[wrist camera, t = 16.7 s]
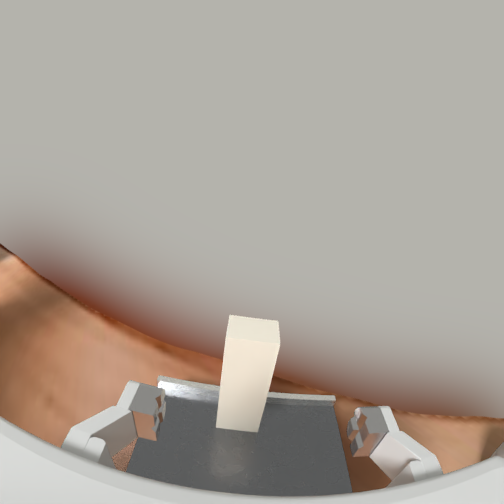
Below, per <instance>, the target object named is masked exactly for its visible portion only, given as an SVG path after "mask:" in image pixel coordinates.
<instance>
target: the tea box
mask: <svg viewBox="0 0 504 504" xmlns="http://www.w3.org/2000/svg"><path fill="white" fill-rule="evenodd" d="M279 347H280V335H279V324H278V321H273V320H265V319H257V318H249V317H242V316H235V315H230V316H229V322H228V328H227V334H226V340H225V349H224V358H223V366H222V375H221V384H220V393H219V402H218V411H217V421H216V428H223V429H231V430H239V431H249V432H258V429H259V425H260V422H261V418H262V414H263V411H264V407H265V403H266V399H267V395H268V392H269V388H270V384H271V380H272V376H273V371H274V368H275V364H276V360H277V355H278V351H279Z"/></svg>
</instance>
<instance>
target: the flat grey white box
mask: <svg viewBox="0 0 504 504" xmlns="http://www.w3.org/2000/svg"><path fill="white" fill-rule="evenodd" d="M157 387H159V388H163V389H165V397H164V400H165V401H166V410H165V416H164V419H163V422H161V423H160V432H159V436H158V439H157V441H154V440H150V439H145V438H141V437H138V439H137V442H136V445H135V448H134V450H133V453H132V456H131V459H130V462H129V464H128V467H127V470H126V472H127V473H130V474H133V475H137V476H141V477H144V478H148V479H152V480H156V481H160V482H165V483H169V484H174V485H179V486H184V487H190V488H196V489H202V490H208V491H216V492H224V493H233V494H244V495H259V496H321V495H335V494H346V493H353V492H352V487H351V482H350V478H349V473H348V468H347V464H346V459H345V454H344V450H343V446H342V441H341V437H340V432H339V428H338V424H337V420H336V415H335V411H334V407H333V406H334V404H335V401H336V399H335V396H333V395H305V394H289V393H276V392H268V395H267V399H266V403H265V407H264V411H263V414H262V418H261V422H260V425H259V429H258V432H249V431H239V430H231V429H223V428H216V421H217V411H218V402H219V393H220V386H216V385H209V384H203V383H197V382H191V381H185V380H180V379H175V378H170V377H165V376H160V375H159V376H158V379H157Z"/></svg>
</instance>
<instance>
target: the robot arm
mask: <svg viewBox="0 0 504 504" xmlns="http://www.w3.org/2000/svg"><path fill="white" fill-rule="evenodd" d="M164 397H165V389H163V388H159V387H155V386H151V385H147V384H143V383H139V382H135V381H132V380H130V381H129V382H128V383H127V385H126V387H125V389H124V391H123V393H122V395H121V397H120V399H119V401H118V403H117V405H116V406H111V407H109V408H107V409H106V410H104V411H102V412H100V413H98V414H96V415H94V416H92V417H91V418H89V419H87V420H85V421H83V422H81V423H79V424H77V425H75V426H73V427H72V428H71V429H70V431H69V433H68V435H67V437H66V439H65V440H64V442H63V444H62V446H61V448H59V447H57V446H55V445H53V444H51V443H49V442H47V441H45V440H42V439H40V438H38V437H36V436H35V435H33V434H31V433H29V432H27V431H25V430H23V429H21V428H20V427H18V426H16V425H14V424H13V423H11V422H9V421H7V420H6V419H4V418H3V417H1V416H0V504H504V458H502V457H500V456H494V457H491V458H488V459H486V460H484V461H481V462H478V463H476V464H473V465H470V466H468V467H465V468H462V469H459V470H456V471H453V472H450V473H446V474H443V472H442V469H441V467H440V464H439V462H438V460H437V457H436V456H435V455H434V454H433V453H431V452H430V451H429V450H427V449H426V448H425V447H423V446H422V445H420V444H419V443H418V442H416V441H415V440H414V439H412V438H411V437H410V436H408V435H407V434H406V433H404V432H403V431H400V430H399V428H398V425H397V423H396V421H395V418H394V416H393V414H392V411H391V409H390V407H389V406H378V407H377V406H374V407H358V408H357V409H356V410H355V412H354V415H355V416H354V417H353V418H351V419H350V421H349V422H348V426H347V436H348V438H349V439H350V440H351V441H352V443H351V445H350V448H351V452H352V456H353V457H360V456H370V458H371V459H372V460H373V461H374V462H375V463H376V464H377V465H378V466H379V467H380V469H381V470H382V471H383V472H384V473H385V474H386V475H387V476H388V477H389V478H390V479H391V480H392V482H391V483H390V484H389V485H388V486H386V488H383V489H377V490H370V491H363V492H355V493H346V494H335V495H321V496H259V495H244V494H233V493H224V492H216V491H208V490H202V489H196V488H190V487H184V486H179V485H174V484H169V483H165V482H160V481H156V480H152V479H148V478H144V477H141V476H137V475H133V474H130V473H127V472H123V471H120V470H117V469H116V467H115V465H114V463H113V460H112V458H111V457H113V456H114V455H115V454H117V453H118V452H119V451H121V450H122V449H123V448H125V447H126V446H127V445H129V444H130V443H131V442H132V441H134V440H135V439H136V438H137V437H141V438H145V439H150V440H154V441H157V439H158V436H159V432H160V423H161V422H163V419H164V416H165V410H166V401H165V400H164Z"/></svg>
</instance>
